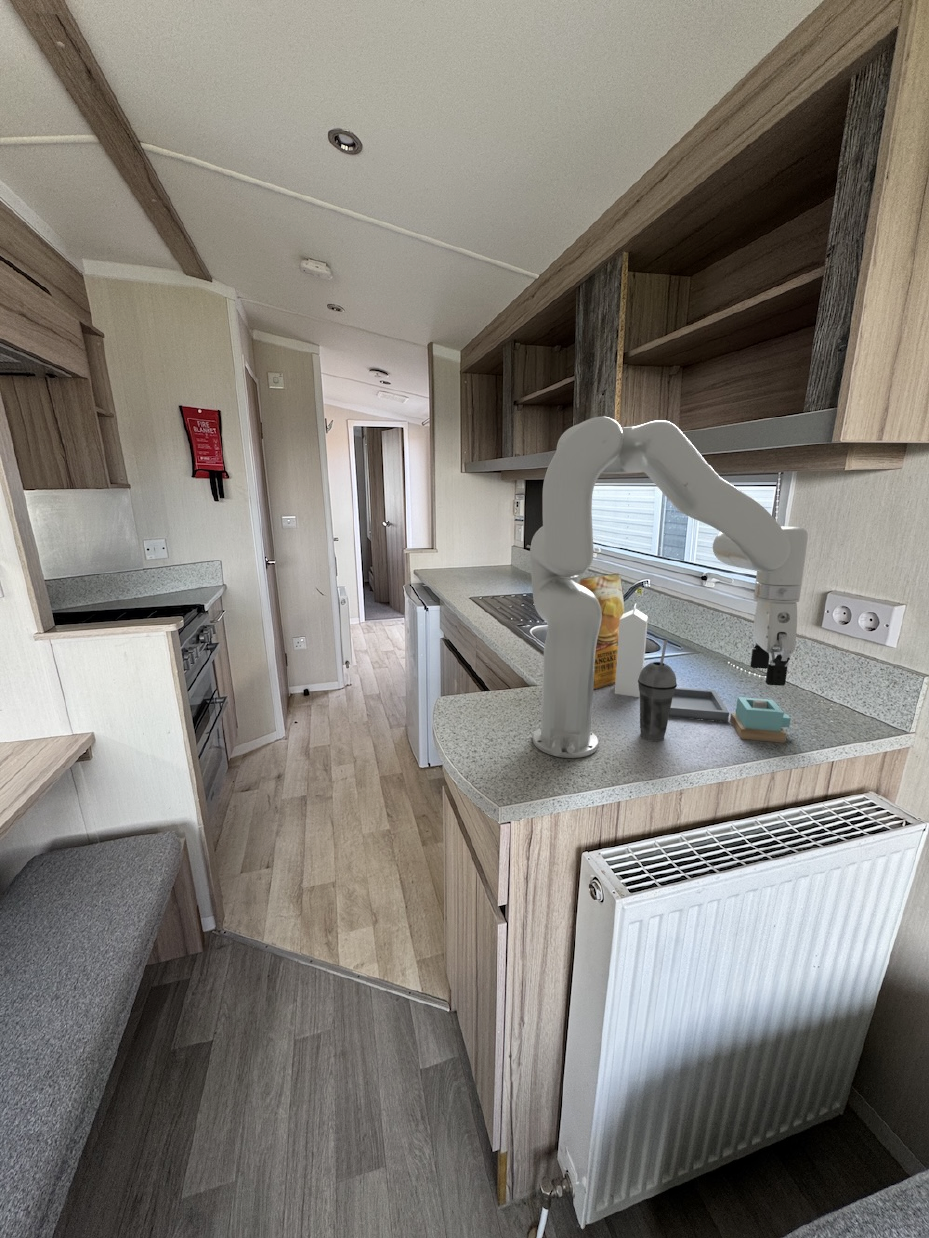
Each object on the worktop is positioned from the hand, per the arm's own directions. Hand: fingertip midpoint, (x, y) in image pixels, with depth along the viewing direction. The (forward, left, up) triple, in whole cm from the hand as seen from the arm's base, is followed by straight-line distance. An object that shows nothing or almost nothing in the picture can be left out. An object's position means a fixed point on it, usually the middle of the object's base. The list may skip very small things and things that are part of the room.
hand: (766, 675), depth 101 cm
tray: (+10, +12, -12) cm, 19 cm away
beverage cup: (-7, +22, -12) cm, 26 cm away
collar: (0, -1, -10) cm, 10 cm away
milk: (+17, +25, -12) cm, 32 cm away
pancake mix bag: (+22, +32, -12) cm, 40 cm away
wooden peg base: (0, +1, -12) cm, 12 cm away
